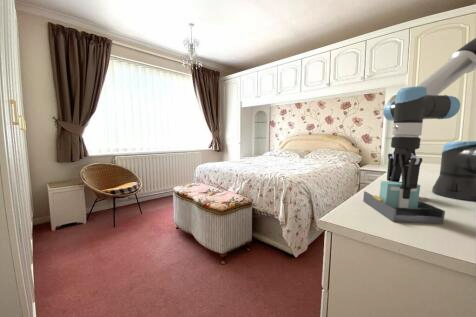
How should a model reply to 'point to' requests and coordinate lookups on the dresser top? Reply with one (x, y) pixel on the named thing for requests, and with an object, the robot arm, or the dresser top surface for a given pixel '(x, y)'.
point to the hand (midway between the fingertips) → (398, 204)
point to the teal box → (397, 194)
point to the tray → (406, 211)
